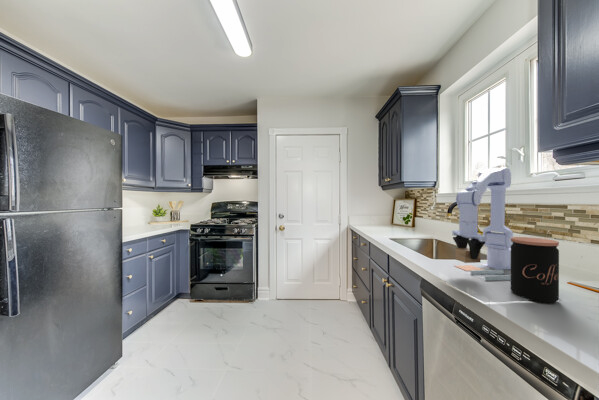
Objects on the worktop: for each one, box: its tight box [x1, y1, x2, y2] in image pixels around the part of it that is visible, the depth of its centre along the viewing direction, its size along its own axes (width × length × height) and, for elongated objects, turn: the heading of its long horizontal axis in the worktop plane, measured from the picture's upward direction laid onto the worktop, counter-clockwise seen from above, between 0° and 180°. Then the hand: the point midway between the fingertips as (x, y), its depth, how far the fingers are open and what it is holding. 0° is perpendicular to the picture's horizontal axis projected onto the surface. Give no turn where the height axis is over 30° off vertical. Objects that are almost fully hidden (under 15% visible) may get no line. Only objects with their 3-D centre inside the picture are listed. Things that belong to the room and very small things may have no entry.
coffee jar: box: [510, 236, 560, 305], centre depth 73 cm, size 11×11×18 cm
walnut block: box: [455, 247, 481, 264], centre depth 90 cm, size 6×5×4 cm
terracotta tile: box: [454, 264, 484, 272], centre depth 101 cm, size 8×7×1 cm
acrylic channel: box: [470, 269, 511, 281], centre depth 90 cm, size 14×7×2 cm, turn 94°
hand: (468, 256), depth 90 cm, fingers closed on walnut block, 5 cm apart
